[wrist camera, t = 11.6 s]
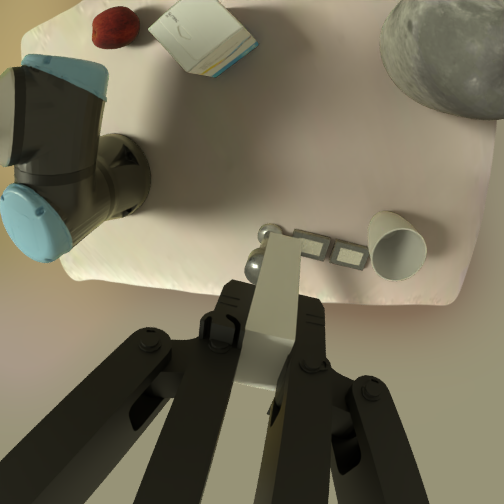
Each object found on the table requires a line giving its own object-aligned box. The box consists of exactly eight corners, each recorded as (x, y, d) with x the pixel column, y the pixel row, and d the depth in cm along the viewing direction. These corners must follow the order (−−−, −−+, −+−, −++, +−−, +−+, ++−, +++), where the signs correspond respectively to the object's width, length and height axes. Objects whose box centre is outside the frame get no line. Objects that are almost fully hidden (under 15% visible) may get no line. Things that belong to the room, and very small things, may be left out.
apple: (110, 15, 35) (82, 9, 28) (150, 6, 34) (124, -5, 27) (108, 53, 39) (78, 52, 32) (147, 46, 38) (121, 41, 31)
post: (256, 242, 51) (247, 268, 44) (260, 220, 49) (252, 244, 42) (280, 248, 51) (275, 275, 44) (285, 226, 49) (281, 251, 42)
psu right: (329, 259, 51) (329, 262, 50) (336, 238, 49) (336, 241, 48) (361, 267, 50) (362, 270, 49) (369, 247, 48) (370, 250, 47)
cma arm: (242, 255, 43) (238, 266, 41) (269, 242, 41) (266, 252, 39) (308, 348, 50) (307, 361, 47) (332, 340, 48) (332, 352, 46)
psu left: (288, 250, 51) (288, 253, 50) (294, 228, 49) (294, 231, 48) (323, 258, 51) (323, 261, 50) (330, 237, 49) (330, 240, 48)
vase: (452, 13, 27) (581, -29, 1) (472, 108, 34) (618, 155, 8) (357, 10, 31) (427, -94, 5) (381, 112, 38) (498, 151, 12)
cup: (357, 246, 49) (366, 280, 40) (362, 199, 45) (375, 226, 36) (402, 248, 47) (419, 282, 39) (410, 203, 43) (432, 230, 35)
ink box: (260, 44, 36) (245, 28, 26) (214, 79, 39) (186, 75, 29) (224, 6, 33) (199, -18, 23) (181, 41, 37) (145, 29, 27)
